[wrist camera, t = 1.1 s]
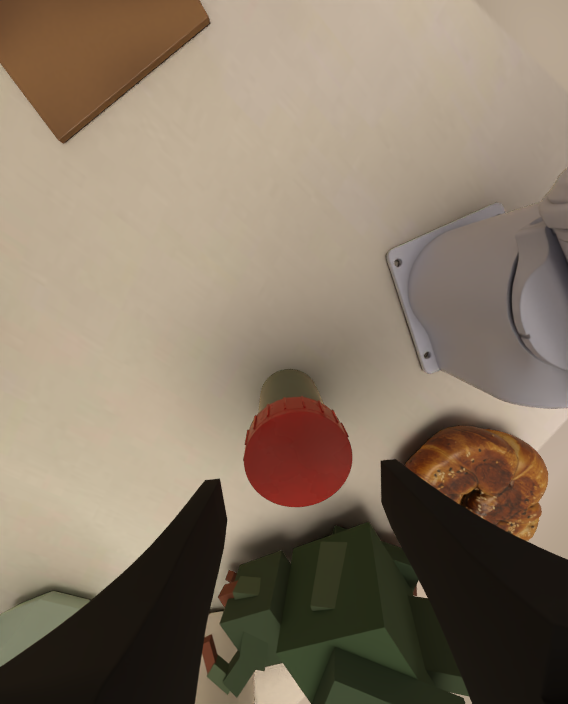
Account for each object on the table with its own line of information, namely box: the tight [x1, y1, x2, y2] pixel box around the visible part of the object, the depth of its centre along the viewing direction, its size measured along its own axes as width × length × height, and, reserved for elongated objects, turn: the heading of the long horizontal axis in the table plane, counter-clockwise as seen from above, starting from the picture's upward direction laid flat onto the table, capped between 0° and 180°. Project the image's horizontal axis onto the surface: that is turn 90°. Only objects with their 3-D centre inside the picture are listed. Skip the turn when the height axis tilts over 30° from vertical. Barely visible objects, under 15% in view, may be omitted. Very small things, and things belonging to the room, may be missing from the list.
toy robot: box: [202, 522, 469, 704], centre depth 20 cm, size 12×18×12 cm
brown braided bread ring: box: [405, 425, 548, 541], centre depth 21 cm, size 12×11×4 cm
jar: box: [258, 369, 324, 414], centre depth 17 cm, size 4×4×8 cm
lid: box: [243, 396, 352, 507], centre depth 14 cm, size 5×5×2 cm
